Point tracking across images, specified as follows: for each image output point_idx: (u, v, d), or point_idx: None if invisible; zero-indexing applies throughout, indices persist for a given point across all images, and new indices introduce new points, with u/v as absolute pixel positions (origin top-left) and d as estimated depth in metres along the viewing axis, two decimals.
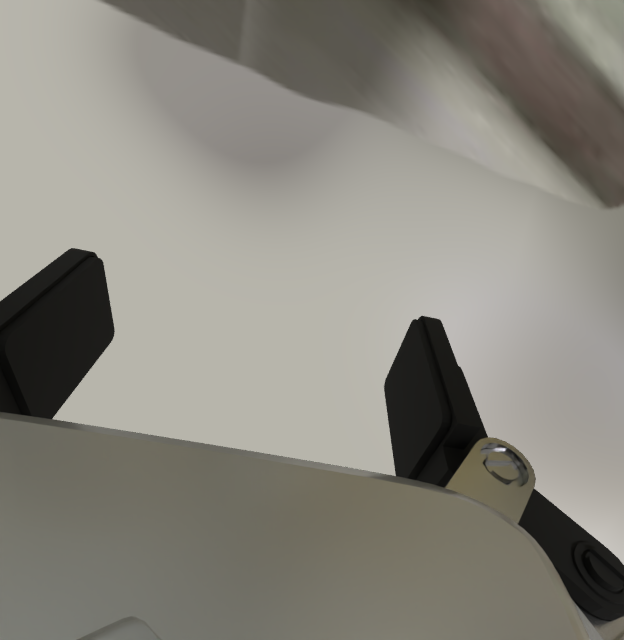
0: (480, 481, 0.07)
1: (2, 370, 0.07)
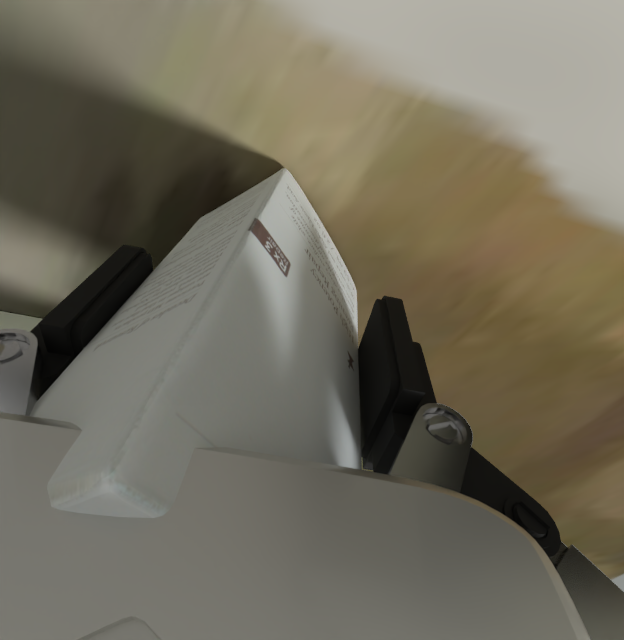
0: (426, 446, 0.07)
1: (75, 356, 0.08)
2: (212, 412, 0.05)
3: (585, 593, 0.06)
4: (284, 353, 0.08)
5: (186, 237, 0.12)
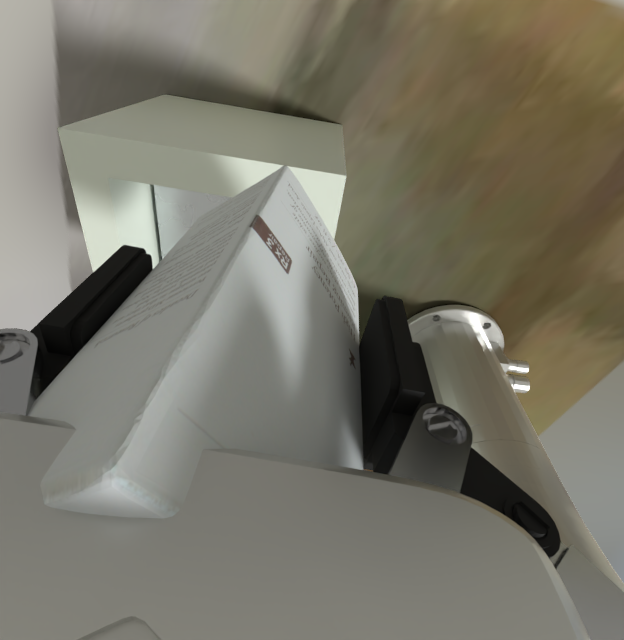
0: (426, 446, 0.07)
1: None
2: (214, 409, 0.05)
3: (585, 592, 0.06)
4: (286, 350, 0.08)
5: (187, 235, 0.12)
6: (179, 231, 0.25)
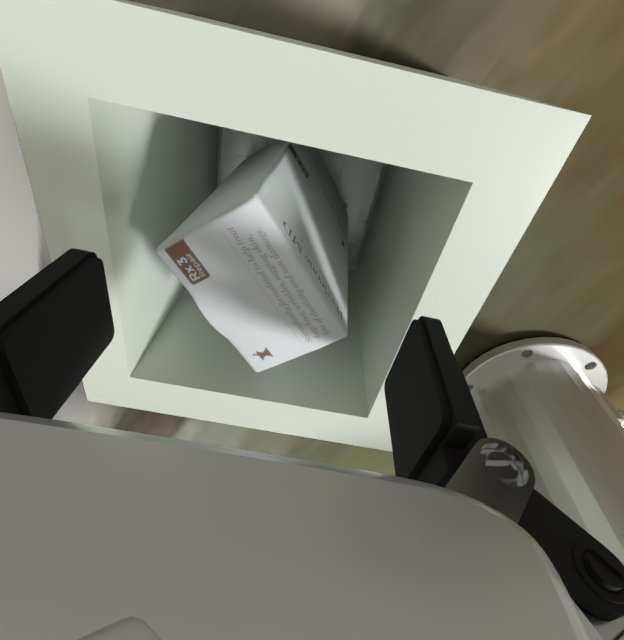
0: (480, 481, 0.07)
1: (2, 370, 0.07)
2: (281, 204, 0.12)
3: None
4: (307, 208, 0.14)
5: (238, 167, 0.19)
6: None
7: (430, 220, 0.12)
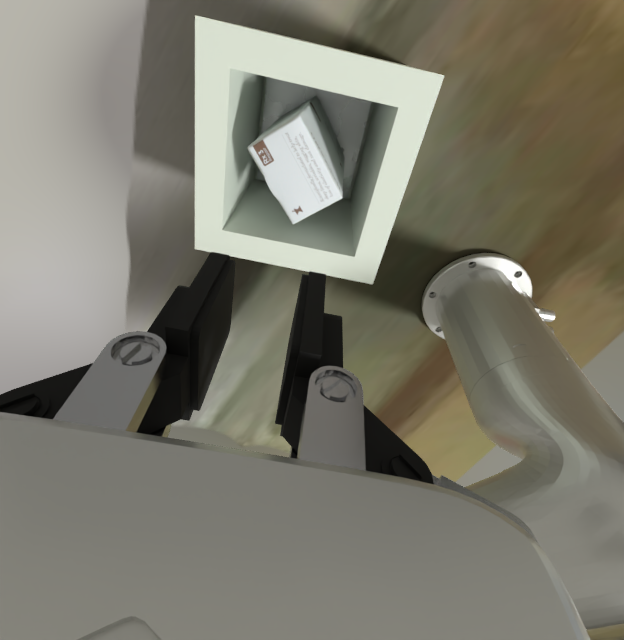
0: (325, 411, 0.07)
1: (190, 357, 0.09)
2: (309, 125, 0.24)
3: None
4: (321, 134, 0.26)
5: (276, 120, 0.31)
6: None
7: (385, 135, 0.24)
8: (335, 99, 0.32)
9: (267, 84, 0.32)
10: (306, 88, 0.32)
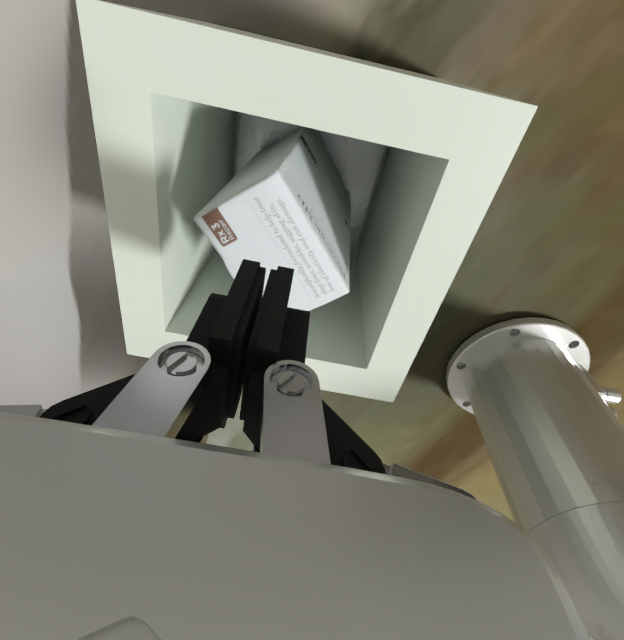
0: (284, 408, 0.07)
1: (230, 366, 0.09)
2: (296, 181, 0.15)
3: None
4: (316, 188, 0.17)
5: (254, 157, 0.22)
6: None
7: (419, 195, 0.15)
8: None
9: None
10: None
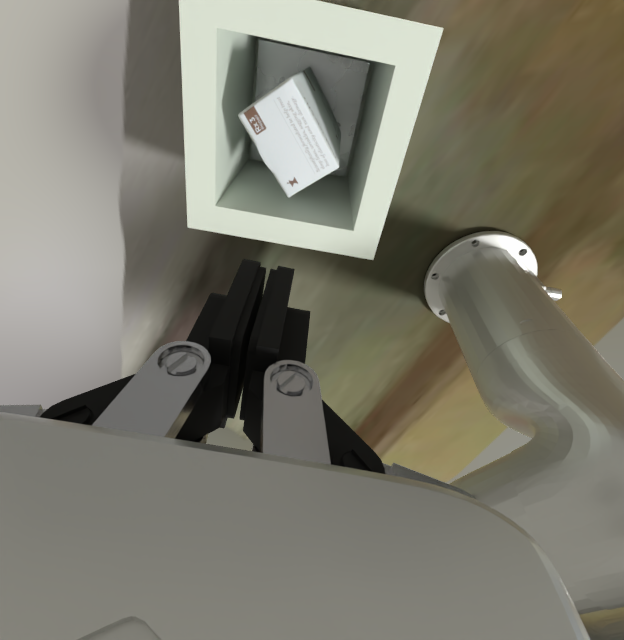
0: (284, 408, 0.07)
1: (230, 366, 0.09)
2: (302, 90, 0.23)
3: None
4: (315, 103, 0.25)
5: None
6: None
7: (382, 99, 0.23)
8: (330, 70, 0.31)
9: (259, 57, 0.31)
10: (299, 60, 0.31)
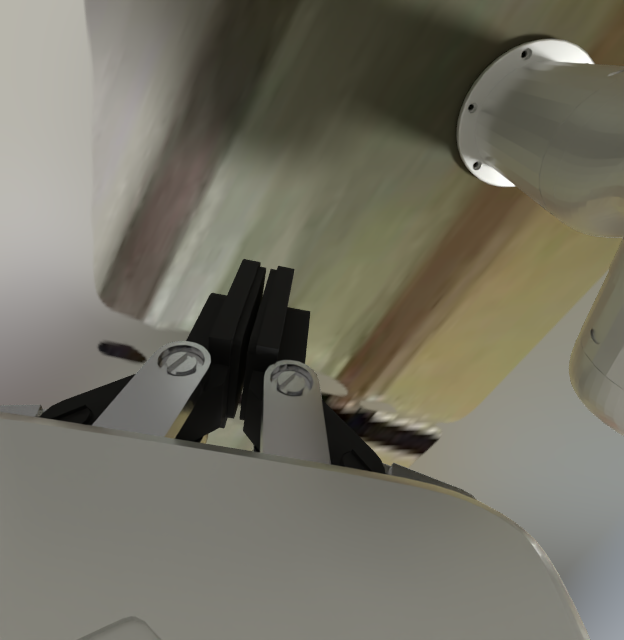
0: (284, 408, 0.07)
1: (230, 366, 0.09)
2: None
3: None
4: None
5: None
6: None
7: None
8: None
9: None
10: None
